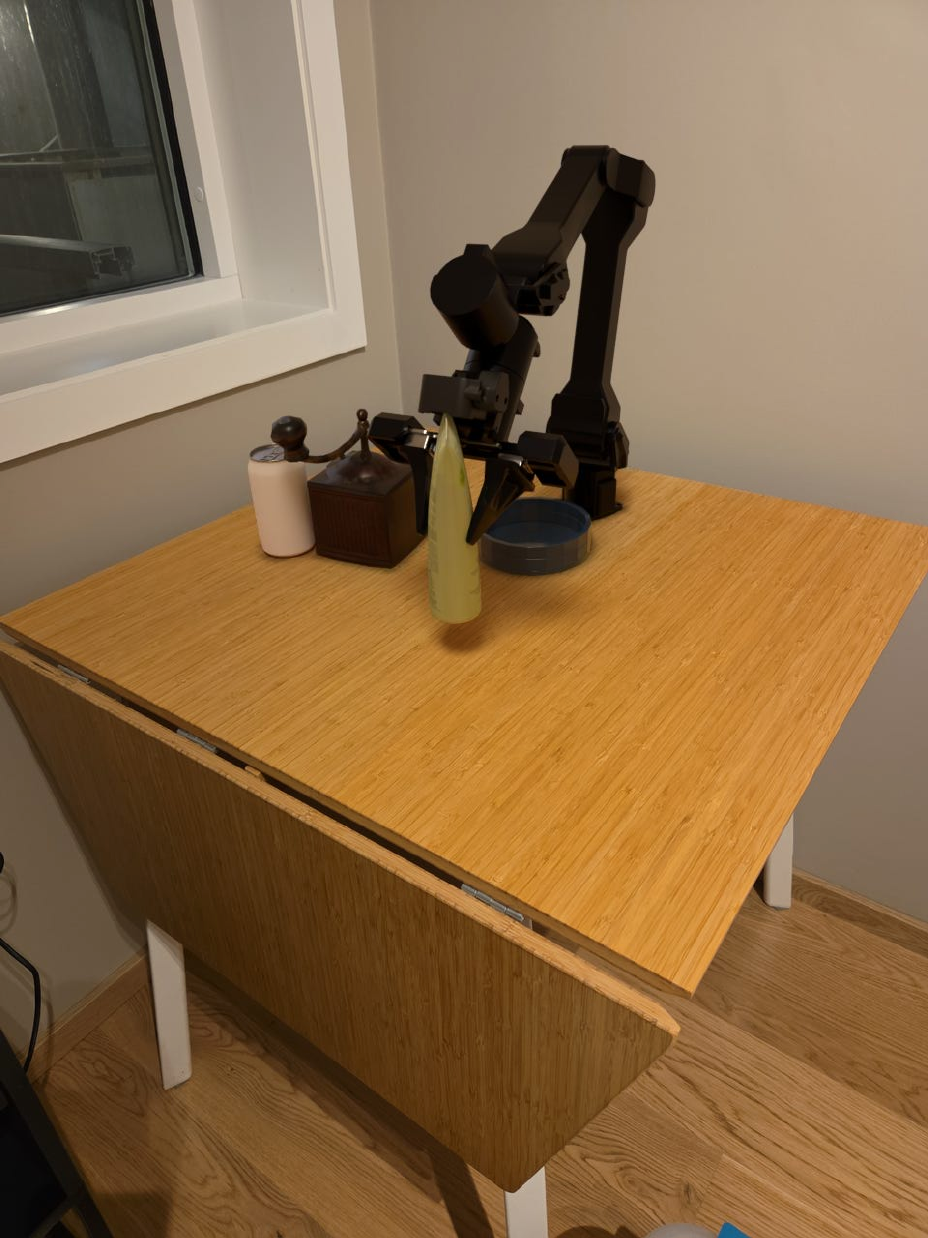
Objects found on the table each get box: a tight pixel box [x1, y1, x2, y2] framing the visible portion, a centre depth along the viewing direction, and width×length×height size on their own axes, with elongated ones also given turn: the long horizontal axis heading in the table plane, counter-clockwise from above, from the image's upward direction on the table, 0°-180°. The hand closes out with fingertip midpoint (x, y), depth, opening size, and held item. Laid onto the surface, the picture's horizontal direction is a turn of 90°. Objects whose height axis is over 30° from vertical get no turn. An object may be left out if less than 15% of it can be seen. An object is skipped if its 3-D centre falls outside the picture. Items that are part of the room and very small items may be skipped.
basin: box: [477, 496, 592, 576], centre depth 104 cm, size 13×13×4 cm
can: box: [247, 442, 316, 559], centre depth 105 cm, size 6×6×12 cm
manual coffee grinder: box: [270, 408, 428, 569], centre depth 101 cm, size 16×11×18 cm
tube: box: [427, 413, 483, 625], centre depth 79 cm, size 6×5×20 cm
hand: (444, 539), depth 79 cm, fingers closed on tube, 4 cm apart
